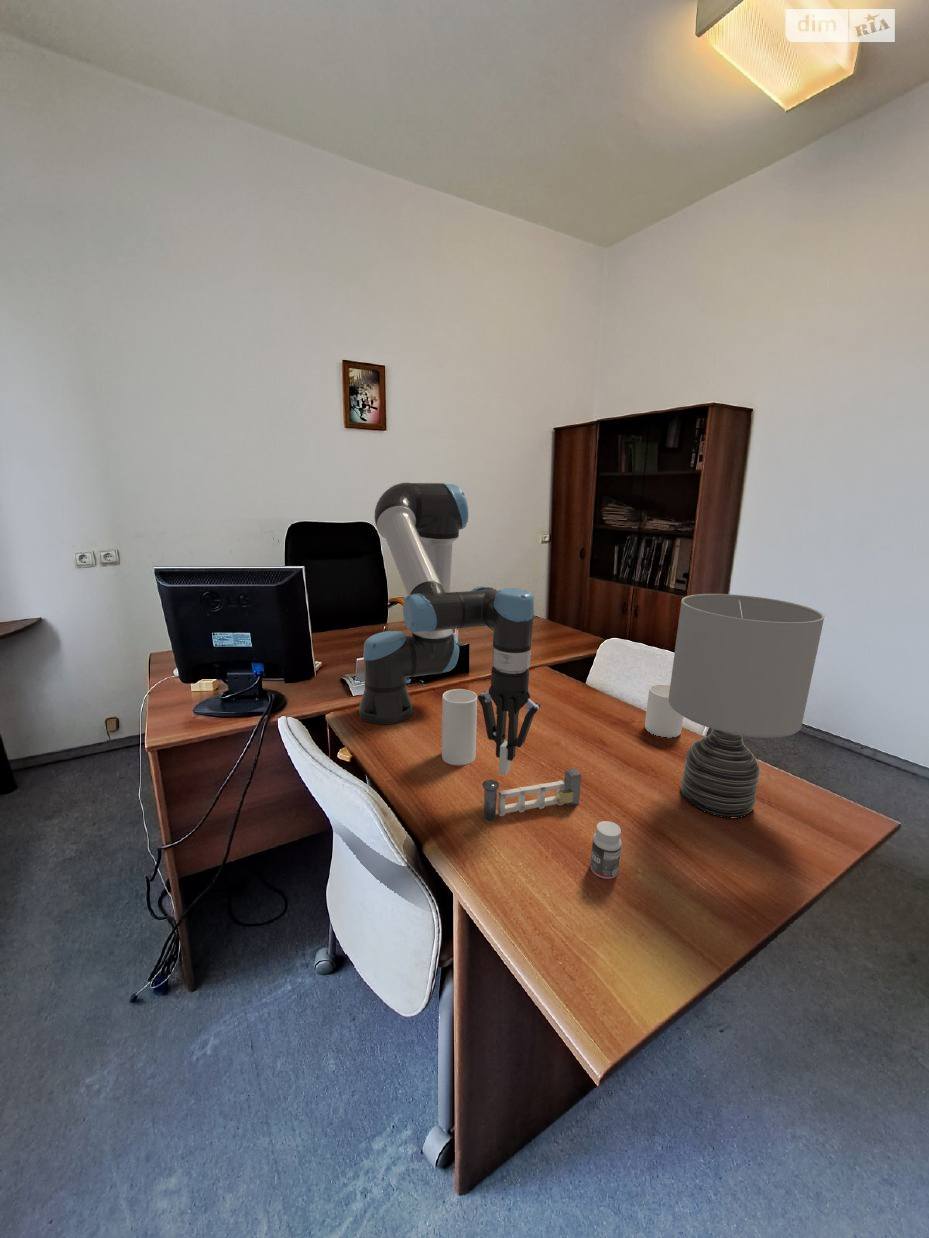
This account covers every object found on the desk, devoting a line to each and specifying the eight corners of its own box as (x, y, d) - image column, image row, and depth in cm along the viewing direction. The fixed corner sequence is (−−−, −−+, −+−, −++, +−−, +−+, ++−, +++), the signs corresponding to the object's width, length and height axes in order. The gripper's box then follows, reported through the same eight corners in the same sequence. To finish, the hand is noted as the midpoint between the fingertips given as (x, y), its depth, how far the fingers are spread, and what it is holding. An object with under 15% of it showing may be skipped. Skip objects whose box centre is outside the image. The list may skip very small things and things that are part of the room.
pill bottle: (586, 860, 89) (590, 819, 87) (612, 859, 89) (616, 818, 87) (595, 880, 85) (599, 837, 82) (622, 879, 85) (627, 836, 83)
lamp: (731, 851, 92) (772, 629, 81) (633, 784, 113) (655, 599, 102) (807, 815, 103) (852, 614, 92) (705, 759, 123) (732, 590, 113)
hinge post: (479, 813, 101) (480, 781, 99) (494, 810, 102) (495, 778, 100) (484, 823, 98) (486, 790, 96) (500, 820, 99) (501, 787, 97)
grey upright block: (552, 801, 106) (554, 771, 104) (573, 797, 107) (575, 768, 105) (559, 810, 103) (561, 779, 101) (580, 805, 104) (583, 775, 103)
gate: (500, 816, 100) (501, 794, 99) (497, 812, 101) (498, 790, 100) (562, 804, 104) (564, 783, 103) (560, 801, 105) (561, 780, 104)
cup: (472, 767, 118) (473, 704, 114) (438, 763, 119) (438, 700, 115) (478, 750, 126) (479, 690, 122) (446, 746, 127) (446, 687, 123)
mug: (658, 740, 132) (664, 699, 129) (631, 721, 143) (636, 682, 140) (688, 736, 135) (694, 696, 132) (659, 717, 146) (664, 679, 143)
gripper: (472, 667, 99) (468, 771, 106) (536, 680, 94) (527, 789, 100) (488, 655, 106) (483, 755, 112) (548, 667, 100) (539, 771, 107)
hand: (504, 771), depth 106 cm, fingers closed
